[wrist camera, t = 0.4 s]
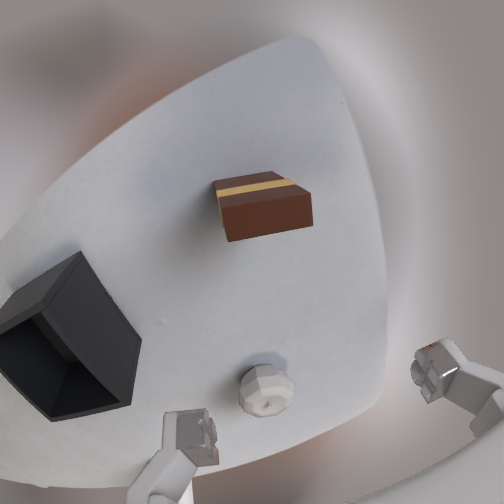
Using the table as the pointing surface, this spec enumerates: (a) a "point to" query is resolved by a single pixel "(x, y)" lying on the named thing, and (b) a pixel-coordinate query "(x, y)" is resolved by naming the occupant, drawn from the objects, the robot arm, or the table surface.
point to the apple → (265, 391)
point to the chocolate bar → (261, 205)
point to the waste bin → (68, 344)
